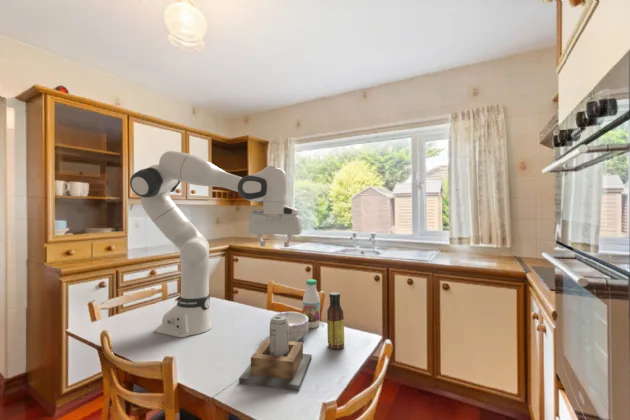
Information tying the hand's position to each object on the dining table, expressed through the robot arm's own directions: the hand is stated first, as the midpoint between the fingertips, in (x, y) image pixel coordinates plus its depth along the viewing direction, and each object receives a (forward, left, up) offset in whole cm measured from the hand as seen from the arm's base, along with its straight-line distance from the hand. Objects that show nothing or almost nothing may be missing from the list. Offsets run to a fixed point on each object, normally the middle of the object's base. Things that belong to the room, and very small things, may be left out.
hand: (274, 246), depth 109 cm
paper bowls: (+4, +8, -37) cm, 38 cm away
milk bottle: (+10, +22, -37) cm, 44 cm away
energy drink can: (+7, -16, -36) cm, 40 cm away
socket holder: (+7, -16, -37) cm, 41 cm away
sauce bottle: (+23, +4, -37) cm, 44 cm away
